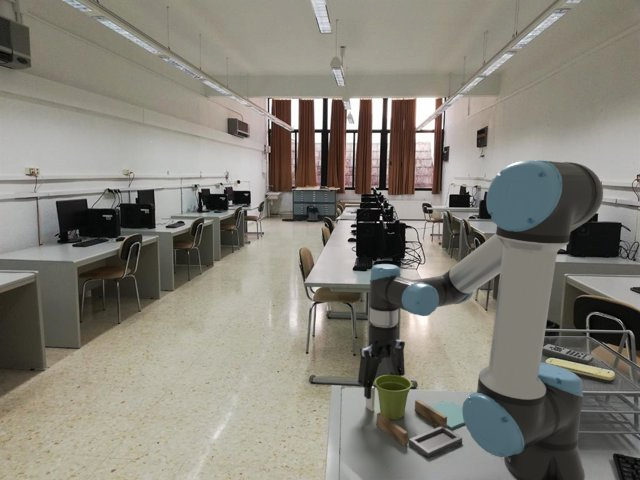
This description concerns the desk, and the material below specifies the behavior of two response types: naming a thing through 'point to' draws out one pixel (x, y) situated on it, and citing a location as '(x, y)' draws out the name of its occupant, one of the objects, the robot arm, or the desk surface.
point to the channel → (401, 433)
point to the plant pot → (392, 395)
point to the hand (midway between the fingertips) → (380, 404)
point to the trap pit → (435, 441)
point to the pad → (450, 413)
